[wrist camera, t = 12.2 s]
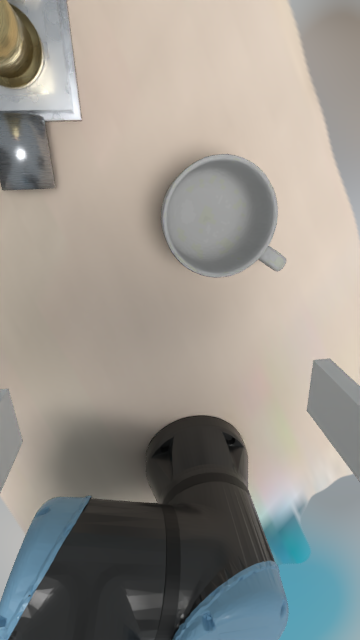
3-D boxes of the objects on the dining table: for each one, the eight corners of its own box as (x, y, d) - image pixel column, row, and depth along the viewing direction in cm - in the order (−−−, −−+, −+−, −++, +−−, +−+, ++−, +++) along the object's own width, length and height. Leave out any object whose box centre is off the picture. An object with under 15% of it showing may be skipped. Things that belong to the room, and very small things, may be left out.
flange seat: (90, 186, 35) (83, 187, 31) (-20, 190, 34) (-43, 191, 30) (63, -27, 29) (50, -65, 25) (-74, -30, 28) (-113, -70, 23)
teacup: (137, 212, 37) (137, 220, 30) (208, 135, 35) (228, 123, 28) (220, 295, 42) (238, 320, 35) (287, 231, 40) (321, 243, 33)
